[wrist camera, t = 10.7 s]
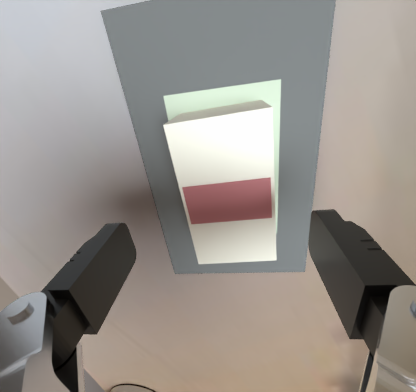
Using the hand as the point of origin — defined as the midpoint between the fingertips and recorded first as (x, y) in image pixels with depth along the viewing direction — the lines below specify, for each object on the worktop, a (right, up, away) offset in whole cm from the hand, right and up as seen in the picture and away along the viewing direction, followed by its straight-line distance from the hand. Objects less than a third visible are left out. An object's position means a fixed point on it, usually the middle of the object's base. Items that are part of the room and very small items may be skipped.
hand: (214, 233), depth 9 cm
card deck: (+1, +3, +6) cm, 7 cm away
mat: (+1, +4, +6) cm, 7 cm away
